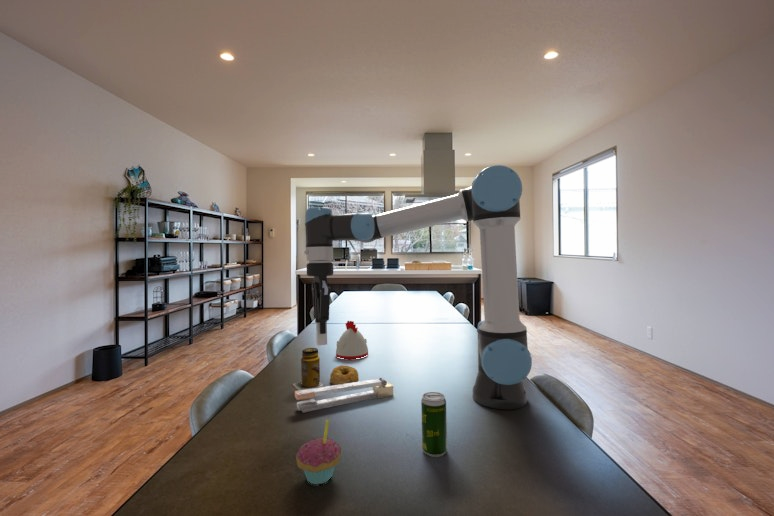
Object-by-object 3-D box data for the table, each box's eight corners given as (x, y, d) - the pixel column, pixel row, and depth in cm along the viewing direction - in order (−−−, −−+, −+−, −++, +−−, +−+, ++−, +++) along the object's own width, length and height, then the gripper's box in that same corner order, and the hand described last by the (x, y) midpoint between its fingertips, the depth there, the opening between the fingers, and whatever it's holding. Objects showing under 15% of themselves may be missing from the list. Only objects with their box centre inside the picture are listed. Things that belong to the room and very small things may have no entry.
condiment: (324, 385, 118) (323, 349, 118) (299, 391, 113) (298, 354, 113) (315, 379, 124) (315, 345, 124) (292, 385, 119) (291, 349, 119)
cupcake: (343, 464, 73) (342, 406, 73) (339, 492, 64) (338, 426, 64) (301, 466, 72) (300, 407, 72) (291, 493, 64) (290, 427, 64)
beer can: (443, 443, 80) (442, 390, 80) (450, 457, 74) (449, 400, 74) (420, 445, 79) (419, 392, 79) (424, 459, 74) (423, 402, 74)
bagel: (324, 387, 117) (324, 372, 117) (336, 376, 128) (336, 362, 128) (353, 389, 115) (352, 374, 115) (363, 377, 125) (362, 364, 125)
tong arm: (387, 385, 108) (387, 380, 108) (296, 400, 96) (296, 394, 96) (382, 382, 111) (382, 377, 111) (294, 396, 99) (294, 390, 99)
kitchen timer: (356, 349, 163) (355, 317, 163) (374, 355, 152) (373, 321, 152) (330, 355, 154) (329, 321, 154) (347, 362, 144) (346, 325, 143)
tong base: (393, 395, 108) (393, 385, 108) (299, 414, 96) (299, 403, 96) (387, 390, 112) (387, 381, 112) (296, 408, 100) (296, 397, 100)
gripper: (302, 262, 105) (303, 341, 105) (312, 262, 93) (314, 351, 93) (326, 261, 108) (328, 338, 108) (339, 261, 97) (341, 347, 97)
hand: (321, 344), depth 101 cm, fingers closed
